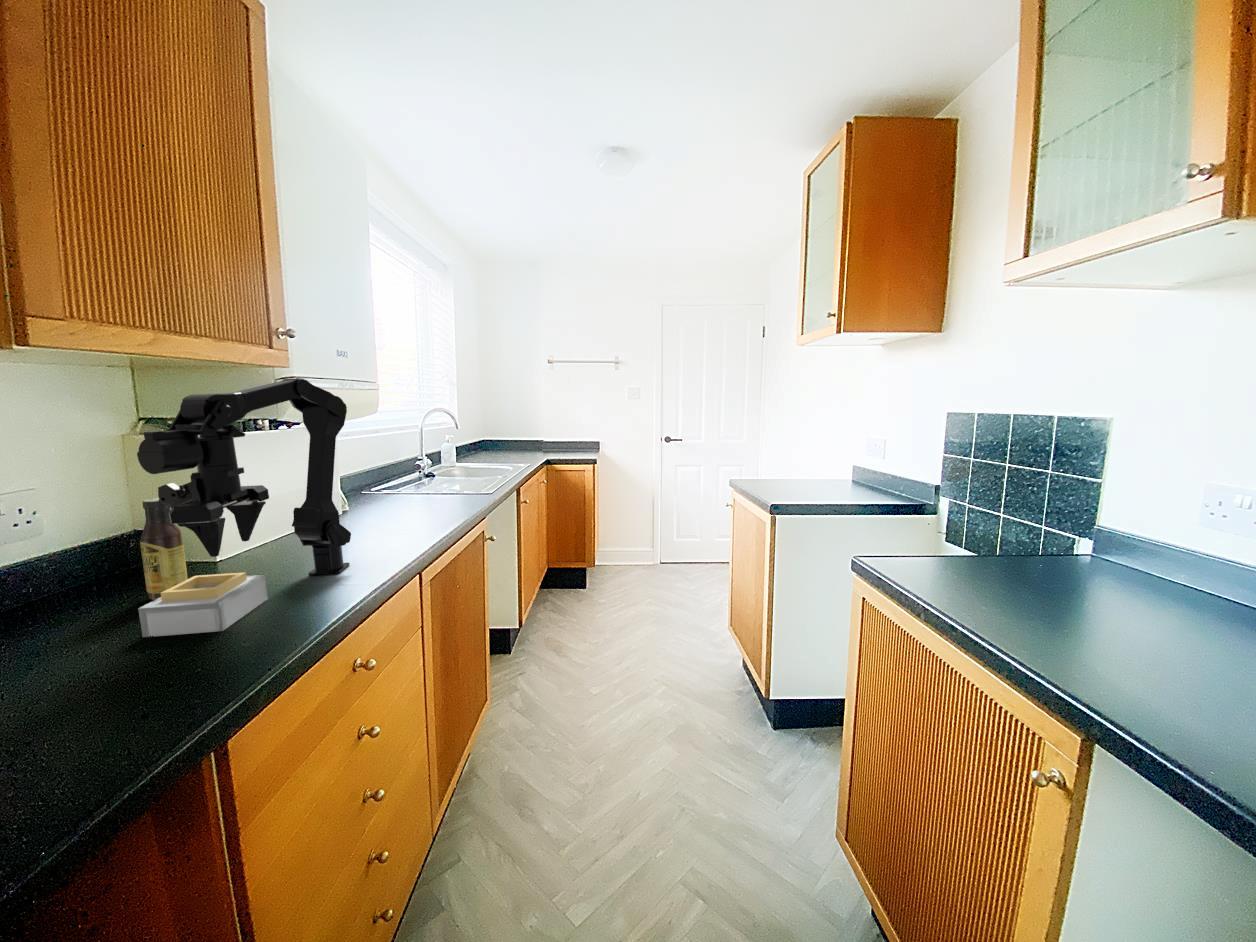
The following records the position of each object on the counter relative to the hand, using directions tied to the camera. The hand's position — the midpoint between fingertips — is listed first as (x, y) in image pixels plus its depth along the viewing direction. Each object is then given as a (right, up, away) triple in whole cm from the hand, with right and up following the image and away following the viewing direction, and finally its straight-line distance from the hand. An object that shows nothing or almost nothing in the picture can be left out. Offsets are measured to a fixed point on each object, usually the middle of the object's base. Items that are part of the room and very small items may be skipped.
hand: (230, 548), depth 95 cm
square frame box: (-2, -12, -2) cm, 12 cm away
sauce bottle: (-19, -11, +9) cm, 23 cm away
